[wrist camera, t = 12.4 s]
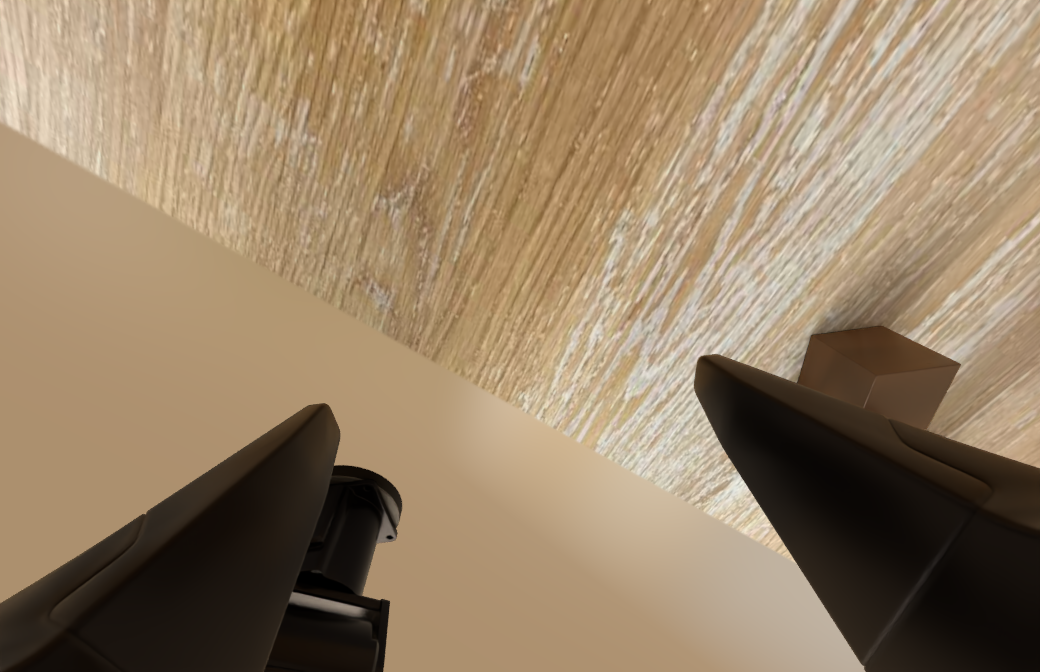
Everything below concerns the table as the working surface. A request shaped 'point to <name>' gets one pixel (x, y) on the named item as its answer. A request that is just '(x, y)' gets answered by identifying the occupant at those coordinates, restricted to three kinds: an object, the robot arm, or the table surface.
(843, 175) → the table surface
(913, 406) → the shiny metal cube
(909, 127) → the table surface
